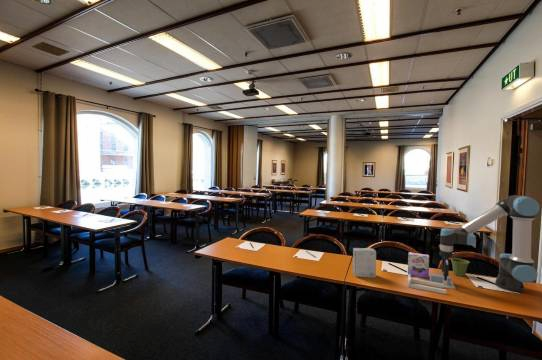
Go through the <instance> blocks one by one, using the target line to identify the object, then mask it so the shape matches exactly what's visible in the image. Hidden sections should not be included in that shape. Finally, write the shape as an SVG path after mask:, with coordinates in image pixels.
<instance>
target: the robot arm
mask: <svg viewBox="0 0 542 360" xmlns="http://www.w3.org/2000/svg"><path fill="white" fill-rule="evenodd" d="M539 212H540V204H539V203H538V201H537V200H536V199H534V198H533V197H529V196H527V195H519V194H513V195H509V196H507V197H505V198H503V199H502V200H499V201H498V202H497V203H495V204H494V206H493V207H491V208H489V209H488V210H486V211H485V212H483V213H482V214H479V216H476V217H474V218H472V220H470V221H468V222H467V223H465V224H463V225H461V226H460V227H459V226H458V228H452V229H451V228H447V227H442V228H441V229H440V234H439V235H440V240H439V242H440V243H439V244H438V247H439V249H440V250H439V256H440V257H441V275H443V284H444V285H447V281H448V276H450V275H449V274H450V273H449V271H450V270H449V269H450V259H451V258H453V251H454V244H457V245H458V244H459V245H467V246H474V245H475V243H476V237H475V235H474V233H476V232H478V231H479V230H481V229H483V228H484V227H486V226H488V225H489V224H492V223H494V221H496V220H499V219H500V218H503V217H504V216H509V217H510V218H511V219H512V247H511V248H512V249H511V251H512V252H511V253H500V254H499V261H498V262H499V263H498V264H499V265H498V275H497V276H496V279H495V281H494V284H495V286H497V288H500V289H503V290H506V291H510V292H515V293H524V292H525V291H526V287H525V283H527V284H528V283H532V282H534V281H536V280H537V278H538V271H537V269H536V268H535V261H534V260H533V259H532V258H531V257H532V224H533V222H532V221H533V220H535V219H536V215H537V214H538V213H539ZM449 258H450V259H449Z"/></svg>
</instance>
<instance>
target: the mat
mask: <svg viewBox="0 0 542 360" xmlns="http://www.w3.org/2000/svg"><path fill="white" fill-rule="evenodd" d="M444 288H447V289H448V288H449V289H451V290H452V289H453V290H456V289H457V288H456V286H455V285H454V282H453V281H451V286H450V285H444Z"/></svg>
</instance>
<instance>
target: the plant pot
mask: <svg viewBox="0 0 542 360" xmlns="http://www.w3.org/2000/svg"><path fill="white" fill-rule="evenodd" d="M450 260H451V264H452V266H451V267H452V272H453V275H455V276H459V277H465V276H466V273H467V270H468V266H469V264H470V261H469V260H466V259H463V258H455V257H451V258H450Z"/></svg>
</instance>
